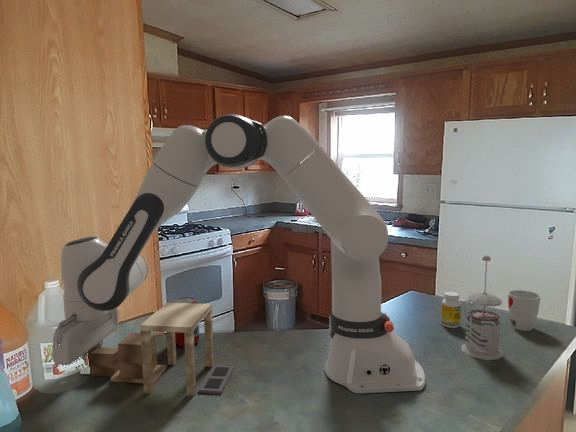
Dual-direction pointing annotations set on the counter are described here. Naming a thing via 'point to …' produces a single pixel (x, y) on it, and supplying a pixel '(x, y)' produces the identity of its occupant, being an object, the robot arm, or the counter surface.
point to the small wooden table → (172, 321)
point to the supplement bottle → (451, 310)
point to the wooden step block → (123, 360)
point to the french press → (477, 344)
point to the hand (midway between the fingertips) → (90, 364)
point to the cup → (523, 309)
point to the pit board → (216, 379)
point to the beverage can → (180, 335)
